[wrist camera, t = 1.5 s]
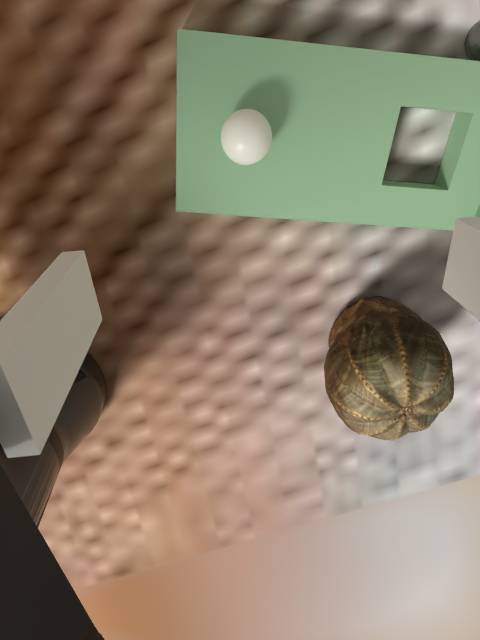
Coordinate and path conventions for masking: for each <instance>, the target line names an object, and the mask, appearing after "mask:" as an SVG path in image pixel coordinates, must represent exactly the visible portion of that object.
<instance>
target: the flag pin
mask: <svg viewBox="0 0 480 640" xmlns="http://www.w3.org/2000/svg"><path fill="white" fill-rule="evenodd" d="M465 49H466V53H467V55H468V56H469V57H470V58H472V59H475V60H478V59H480V22H478V23H477V24H475V25H474V26H473V27H472V28H471V30H470V31H469V33H468V35H467V37H466V41H465Z"/></svg>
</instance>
